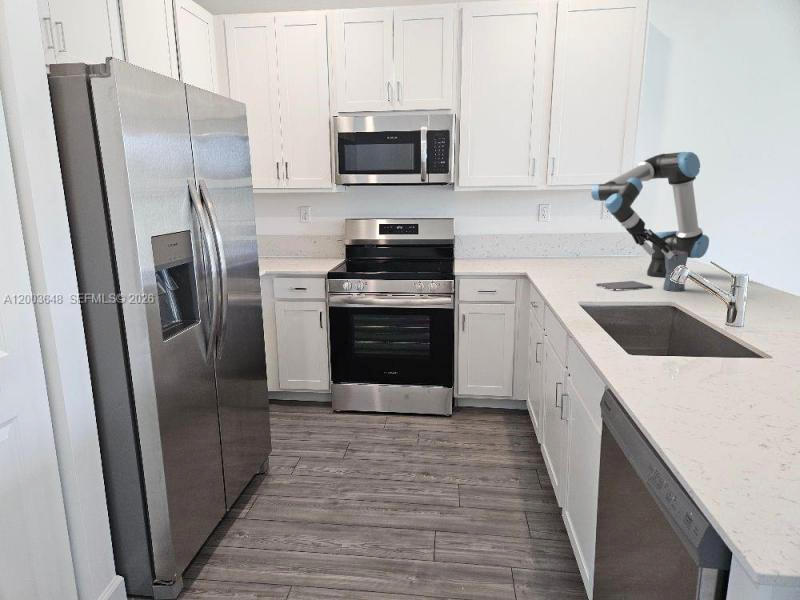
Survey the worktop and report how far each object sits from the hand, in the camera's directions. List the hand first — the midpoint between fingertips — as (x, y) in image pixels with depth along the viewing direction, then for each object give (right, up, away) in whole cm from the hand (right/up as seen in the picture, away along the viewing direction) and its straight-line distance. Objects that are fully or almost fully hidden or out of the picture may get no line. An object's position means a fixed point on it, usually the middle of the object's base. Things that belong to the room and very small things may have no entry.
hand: (661, 255), depth 236 cm
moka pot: (+8, -16, +5) cm, 18 cm away
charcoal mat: (-11, -14, +16) cm, 23 cm away
